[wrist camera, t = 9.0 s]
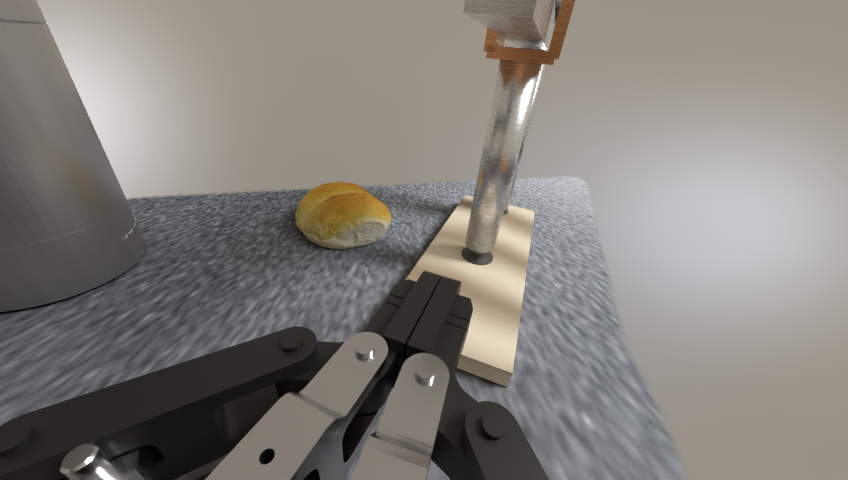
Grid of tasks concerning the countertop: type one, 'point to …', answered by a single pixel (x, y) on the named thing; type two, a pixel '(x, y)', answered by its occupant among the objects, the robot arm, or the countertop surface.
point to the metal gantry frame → (519, 36)
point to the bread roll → (342, 216)
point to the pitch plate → (485, 286)
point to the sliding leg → (507, 128)
